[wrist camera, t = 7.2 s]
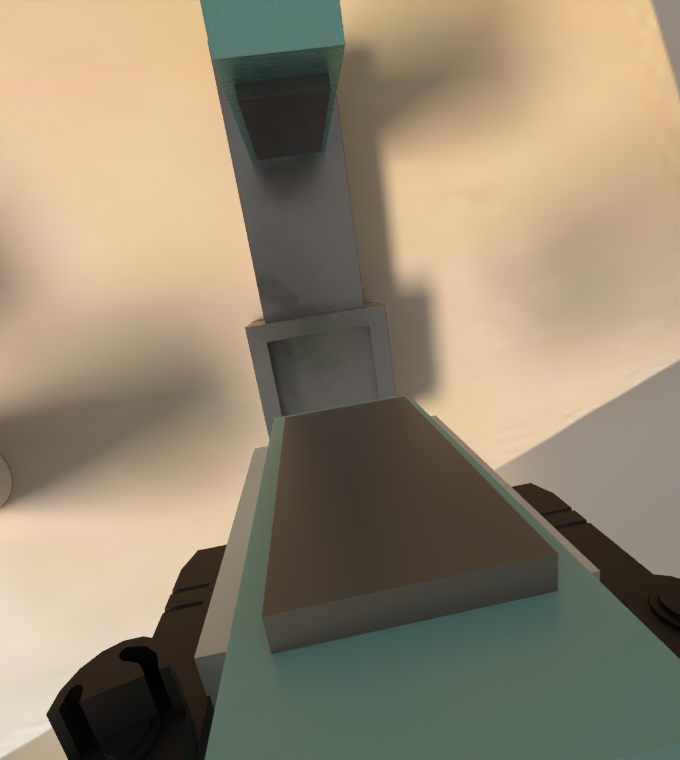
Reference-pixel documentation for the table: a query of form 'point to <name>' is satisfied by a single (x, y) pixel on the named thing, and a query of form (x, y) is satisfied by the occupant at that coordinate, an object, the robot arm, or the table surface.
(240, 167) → the grey and teal stand
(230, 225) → the table surface
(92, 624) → the table surface
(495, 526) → the block
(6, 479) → the coffee cup
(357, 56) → the table surface
